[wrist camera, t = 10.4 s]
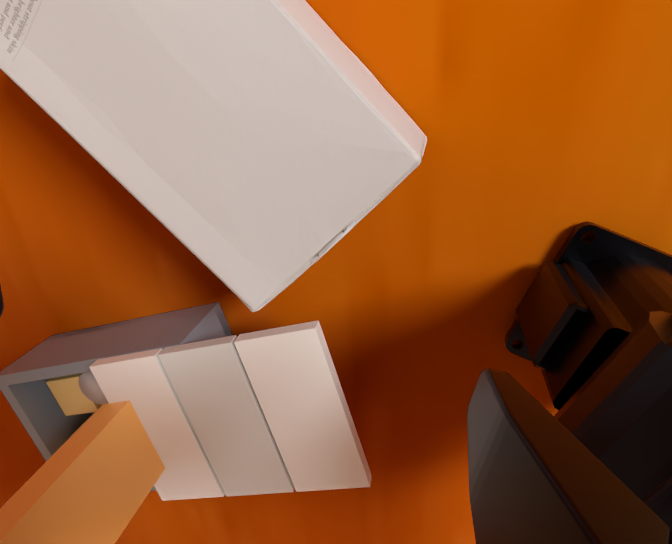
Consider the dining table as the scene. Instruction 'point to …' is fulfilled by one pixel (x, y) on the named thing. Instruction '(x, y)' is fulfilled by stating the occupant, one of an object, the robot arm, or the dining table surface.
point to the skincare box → (220, 122)
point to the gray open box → (78, 380)
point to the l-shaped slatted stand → (195, 435)
